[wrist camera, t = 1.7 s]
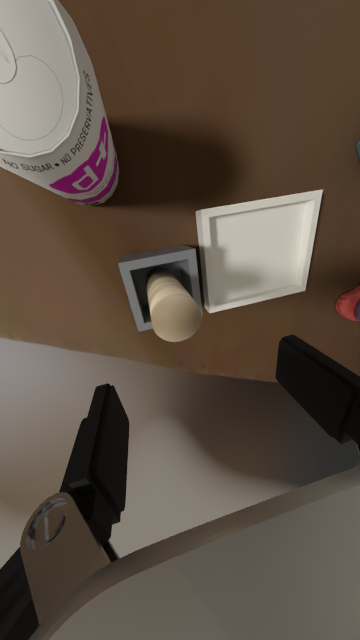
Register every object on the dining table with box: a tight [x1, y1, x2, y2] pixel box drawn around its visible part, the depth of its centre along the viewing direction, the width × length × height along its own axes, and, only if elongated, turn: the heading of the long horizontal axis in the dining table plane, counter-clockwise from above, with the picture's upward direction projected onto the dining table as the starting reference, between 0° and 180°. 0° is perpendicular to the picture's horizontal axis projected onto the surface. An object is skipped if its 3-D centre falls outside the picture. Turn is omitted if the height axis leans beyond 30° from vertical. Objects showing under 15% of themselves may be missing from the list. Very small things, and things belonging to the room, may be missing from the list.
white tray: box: [196, 190, 323, 313], centre depth 29 cm, size 15×18×2 cm
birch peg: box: [145, 267, 202, 342], centre depth 22 cm, size 4×4×14 cm
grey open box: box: [118, 245, 203, 331], centre depth 26 cm, size 9×9×7 cm
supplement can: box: [0, 0, 119, 206], centre depth 15 cm, size 8×8×15 cm
